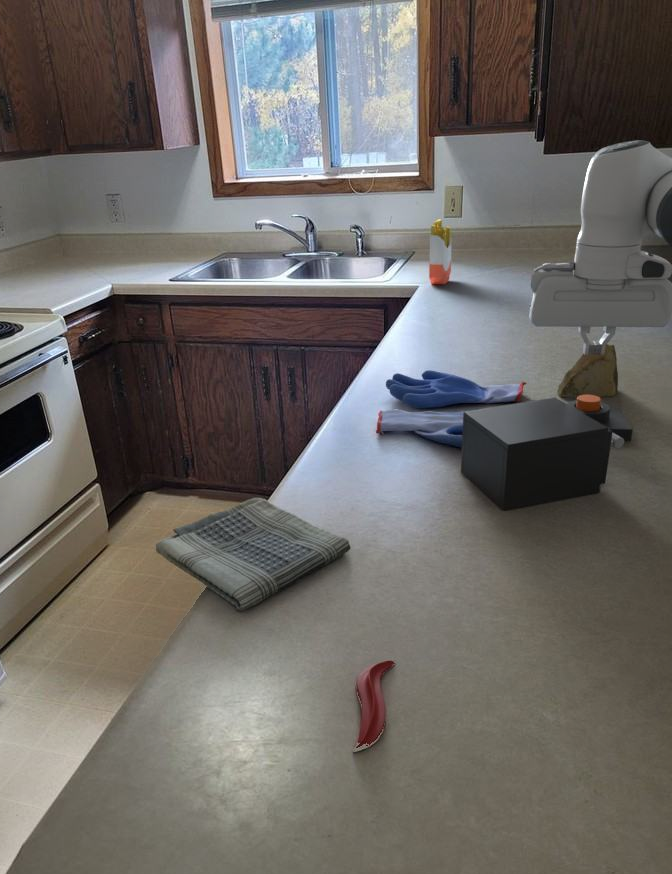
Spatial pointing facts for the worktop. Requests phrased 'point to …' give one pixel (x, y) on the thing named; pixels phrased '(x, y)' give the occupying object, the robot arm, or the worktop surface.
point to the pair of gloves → (439, 404)
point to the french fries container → (440, 253)
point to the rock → (592, 376)
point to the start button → (588, 403)
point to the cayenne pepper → (371, 702)
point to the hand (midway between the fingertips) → (593, 354)
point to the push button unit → (609, 419)
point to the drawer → (611, 441)
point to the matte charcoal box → (532, 452)
